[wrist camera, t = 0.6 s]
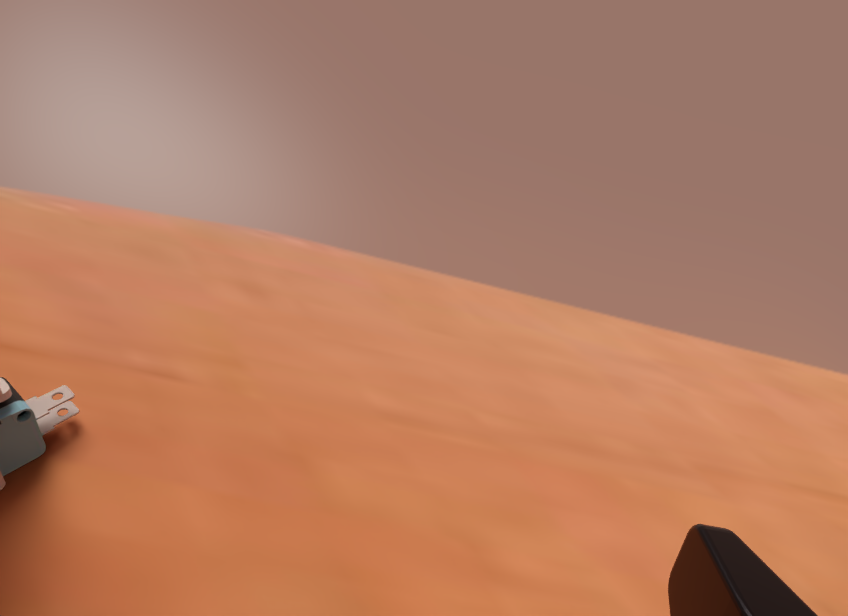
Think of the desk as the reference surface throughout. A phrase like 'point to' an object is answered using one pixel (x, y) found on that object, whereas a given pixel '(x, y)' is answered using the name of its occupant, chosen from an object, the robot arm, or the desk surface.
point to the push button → (28, 424)
